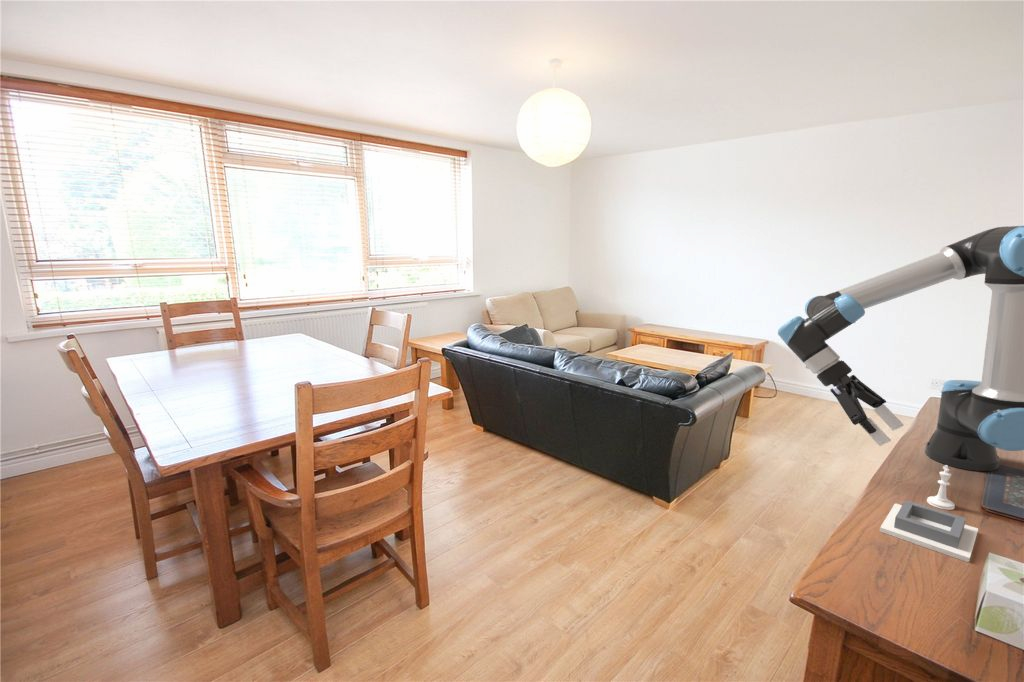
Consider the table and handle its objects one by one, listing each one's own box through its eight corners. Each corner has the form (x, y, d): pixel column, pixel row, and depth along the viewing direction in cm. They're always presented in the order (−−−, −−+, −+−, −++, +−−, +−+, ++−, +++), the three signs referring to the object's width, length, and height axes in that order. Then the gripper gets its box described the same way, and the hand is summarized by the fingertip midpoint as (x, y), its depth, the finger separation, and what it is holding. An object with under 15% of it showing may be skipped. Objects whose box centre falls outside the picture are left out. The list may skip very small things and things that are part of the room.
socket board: (894, 507, 109) (896, 493, 108) (977, 532, 98) (980, 518, 98) (879, 531, 100) (881, 516, 99) (969, 562, 90) (971, 546, 89)
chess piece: (947, 500, 111) (953, 462, 109) (959, 511, 106) (966, 471, 104) (922, 497, 113) (928, 459, 111) (933, 508, 108) (939, 469, 106)
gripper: (830, 366, 133) (889, 428, 125) (799, 384, 118) (864, 457, 109) (854, 351, 128) (917, 415, 120) (825, 368, 112) (895, 443, 104)
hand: (892, 435), depth 114 cm, fingers open, 13 cm apart
